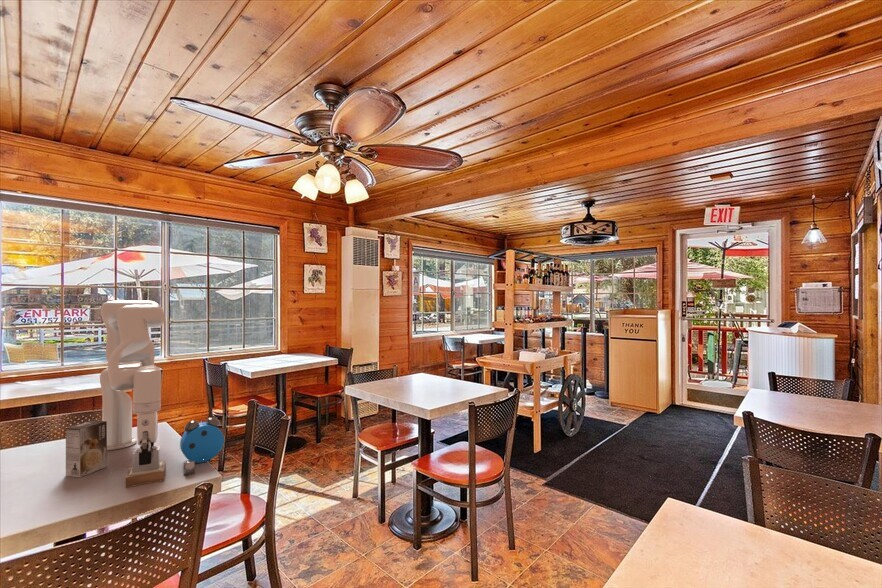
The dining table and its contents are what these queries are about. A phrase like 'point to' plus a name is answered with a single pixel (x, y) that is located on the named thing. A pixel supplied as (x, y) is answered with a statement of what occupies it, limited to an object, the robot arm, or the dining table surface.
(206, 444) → the alarm clock
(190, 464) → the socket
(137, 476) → the picture frame
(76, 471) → the coffee box
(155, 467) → the housing
